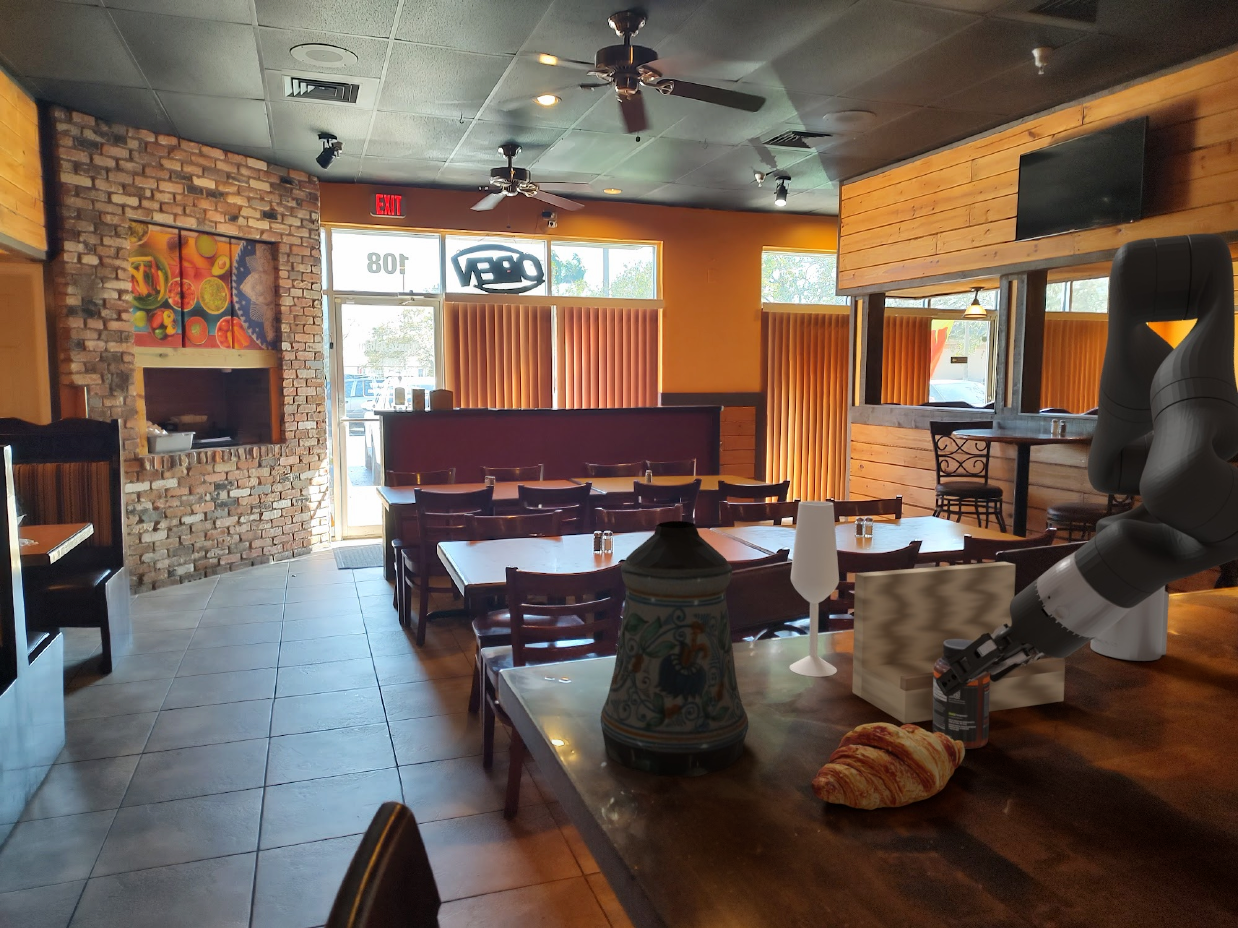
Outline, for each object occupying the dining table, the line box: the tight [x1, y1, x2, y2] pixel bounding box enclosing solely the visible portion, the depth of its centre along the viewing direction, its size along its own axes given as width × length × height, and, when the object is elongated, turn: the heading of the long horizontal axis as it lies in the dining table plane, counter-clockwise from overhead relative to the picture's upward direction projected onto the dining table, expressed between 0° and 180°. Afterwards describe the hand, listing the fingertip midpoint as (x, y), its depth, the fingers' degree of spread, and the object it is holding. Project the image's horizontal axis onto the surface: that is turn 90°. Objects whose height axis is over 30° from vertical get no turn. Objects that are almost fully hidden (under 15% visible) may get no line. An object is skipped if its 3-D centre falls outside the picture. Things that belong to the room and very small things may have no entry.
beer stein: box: [600, 520, 750, 777], centre depth 95 cm, size 16×19×25 cm
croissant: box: [810, 722, 966, 811], centre depth 84 cm, size 21×10×8 cm, turn 122°
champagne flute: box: [789, 500, 840, 677], centre depth 119 cm, size 7×7×24 cm
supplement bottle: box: [932, 639, 990, 750], centre depth 95 cm, size 6×6×11 cm
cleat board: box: [852, 561, 1066, 725], centre depth 108 cm, size 24×11×16 cm, turn 108°
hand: (966, 681), depth 94 cm, fingers open, 8 cm apart
